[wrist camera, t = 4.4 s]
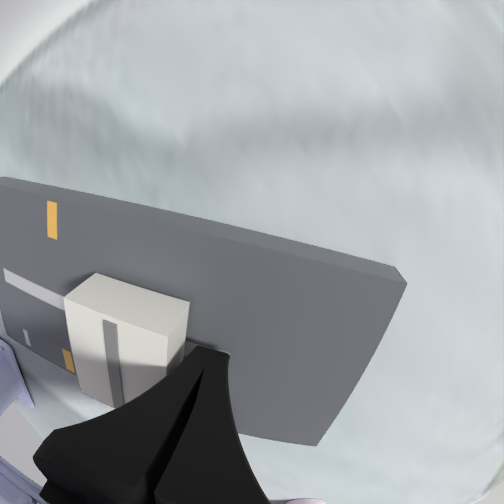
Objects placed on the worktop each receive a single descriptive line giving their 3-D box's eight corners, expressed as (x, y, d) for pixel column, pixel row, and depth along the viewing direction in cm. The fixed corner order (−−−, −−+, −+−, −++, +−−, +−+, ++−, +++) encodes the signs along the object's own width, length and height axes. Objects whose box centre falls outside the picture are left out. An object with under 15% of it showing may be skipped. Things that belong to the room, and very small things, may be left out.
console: (20, 323, 15) (6, 335, 14) (3, 176, 12) (-17, 181, 10) (315, 425, 14) (315, 446, 13) (394, 267, 11) (407, 283, 9)
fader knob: (103, 364, 12) (80, 393, 10) (95, 272, 11) (61, 298, 8) (180, 392, 12) (164, 429, 10) (189, 302, 10) (167, 338, 8)
